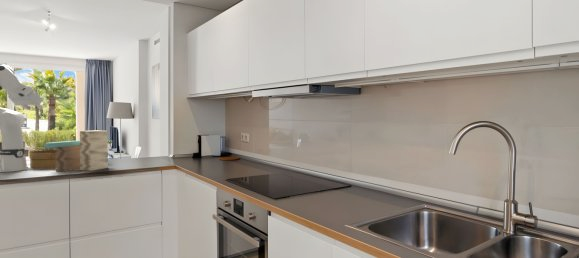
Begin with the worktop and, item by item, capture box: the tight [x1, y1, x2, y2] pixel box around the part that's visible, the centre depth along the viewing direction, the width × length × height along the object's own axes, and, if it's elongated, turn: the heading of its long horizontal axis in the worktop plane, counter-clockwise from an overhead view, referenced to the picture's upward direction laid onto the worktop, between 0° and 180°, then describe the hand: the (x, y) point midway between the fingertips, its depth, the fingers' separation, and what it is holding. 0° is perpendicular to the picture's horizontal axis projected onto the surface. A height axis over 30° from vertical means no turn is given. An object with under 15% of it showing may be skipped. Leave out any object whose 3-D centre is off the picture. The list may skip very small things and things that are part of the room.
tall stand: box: [79, 129, 109, 171], centre depth 230 cm, size 9×14×26 cm, turn 166°
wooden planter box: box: [28, 149, 56, 170], centre depth 242 cm, size 25×25×11 cm
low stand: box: [54, 145, 80, 172], centre depth 227 cm, size 8×14×16 cm, turn 166°
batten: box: [44, 140, 80, 149], centre depth 222 cm, size 3×24×3 cm, turn 165°
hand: (35, 109), depth 204 cm, fingers open, 8 cm apart
